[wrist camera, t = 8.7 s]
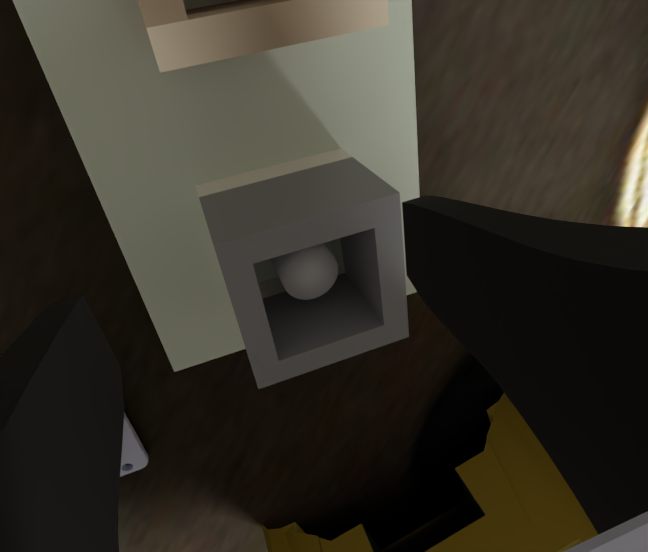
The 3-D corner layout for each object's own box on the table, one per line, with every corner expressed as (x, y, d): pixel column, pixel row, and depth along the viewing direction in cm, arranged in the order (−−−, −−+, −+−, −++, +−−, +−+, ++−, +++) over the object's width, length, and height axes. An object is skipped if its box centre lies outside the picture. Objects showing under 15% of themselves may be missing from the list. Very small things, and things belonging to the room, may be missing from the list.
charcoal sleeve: (233, 309, 20) (258, 389, 16) (195, 185, 17) (213, 245, 13) (356, 271, 21) (409, 336, 17) (340, 148, 18) (399, 192, 14)
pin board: (172, 351, 22) (180, 432, 18) (-99, -287, 11) (-234, -447, 7) (409, 275, 24) (463, 331, 20) (373, -316, 14) (476, -448, 9)
